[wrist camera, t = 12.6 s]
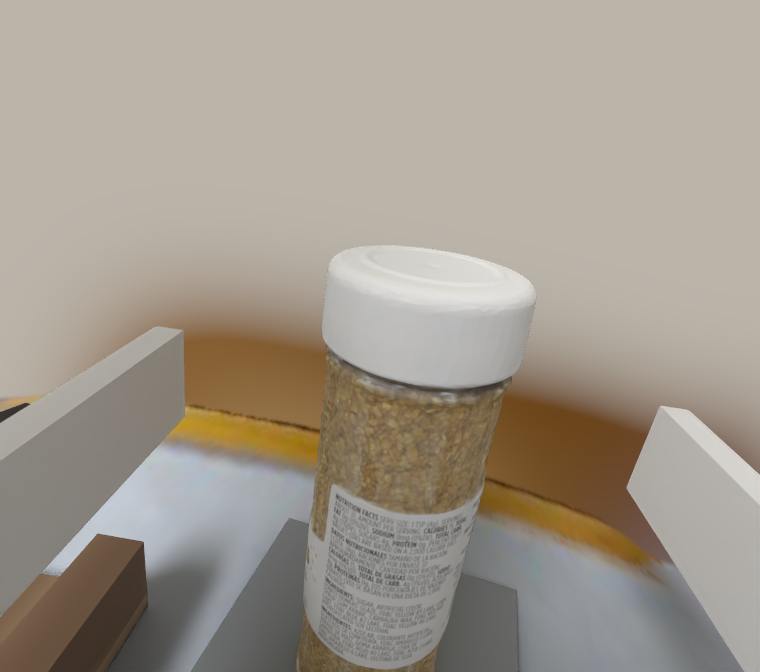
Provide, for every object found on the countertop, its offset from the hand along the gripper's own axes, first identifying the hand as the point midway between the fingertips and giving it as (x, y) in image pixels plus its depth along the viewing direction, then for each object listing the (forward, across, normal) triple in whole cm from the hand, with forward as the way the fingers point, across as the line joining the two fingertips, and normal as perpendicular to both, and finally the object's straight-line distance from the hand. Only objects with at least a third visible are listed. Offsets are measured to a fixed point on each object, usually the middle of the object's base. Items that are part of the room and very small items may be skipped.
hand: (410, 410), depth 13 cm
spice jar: (-1, 0, -9) cm, 9 cm away
